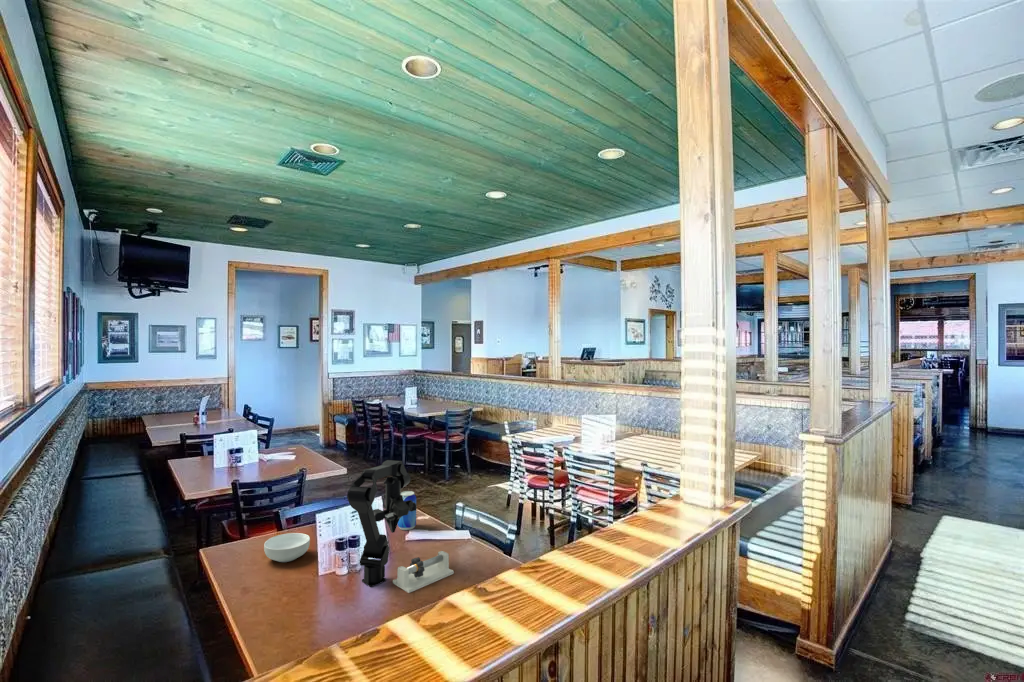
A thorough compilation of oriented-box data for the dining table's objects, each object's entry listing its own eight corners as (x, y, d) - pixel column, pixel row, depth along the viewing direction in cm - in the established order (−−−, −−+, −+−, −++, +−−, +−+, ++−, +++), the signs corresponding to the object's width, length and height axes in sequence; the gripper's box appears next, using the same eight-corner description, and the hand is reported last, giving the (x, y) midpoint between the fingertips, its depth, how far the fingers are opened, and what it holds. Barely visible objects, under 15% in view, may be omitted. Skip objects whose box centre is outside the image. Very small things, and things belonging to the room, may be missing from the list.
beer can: (405, 532, 225) (406, 497, 225) (394, 528, 230) (394, 493, 230) (419, 526, 231) (420, 492, 231) (407, 522, 236) (408, 489, 236)
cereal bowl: (298, 567, 189) (298, 549, 189) (255, 567, 189) (255, 549, 189) (316, 549, 206) (316, 532, 206) (277, 548, 206) (277, 531, 206)
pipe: (405, 577, 174) (405, 570, 174) (400, 575, 176) (400, 568, 176) (445, 561, 187) (445, 554, 187) (441, 559, 189) (441, 552, 189)
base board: (408, 593, 171) (408, 574, 171) (392, 583, 178) (392, 565, 178) (453, 573, 185) (453, 556, 185) (437, 565, 192) (437, 548, 192)
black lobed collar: (420, 580, 176) (421, 561, 176) (409, 574, 181) (410, 555, 181) (424, 579, 177) (424, 560, 177) (413, 572, 182) (413, 554, 182)
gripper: (383, 502, 181) (383, 545, 181) (424, 491, 195) (424, 531, 195) (367, 496, 189) (367, 536, 189) (408, 486, 203) (408, 524, 203)
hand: (392, 532), depth 194 cm, fingers closed
